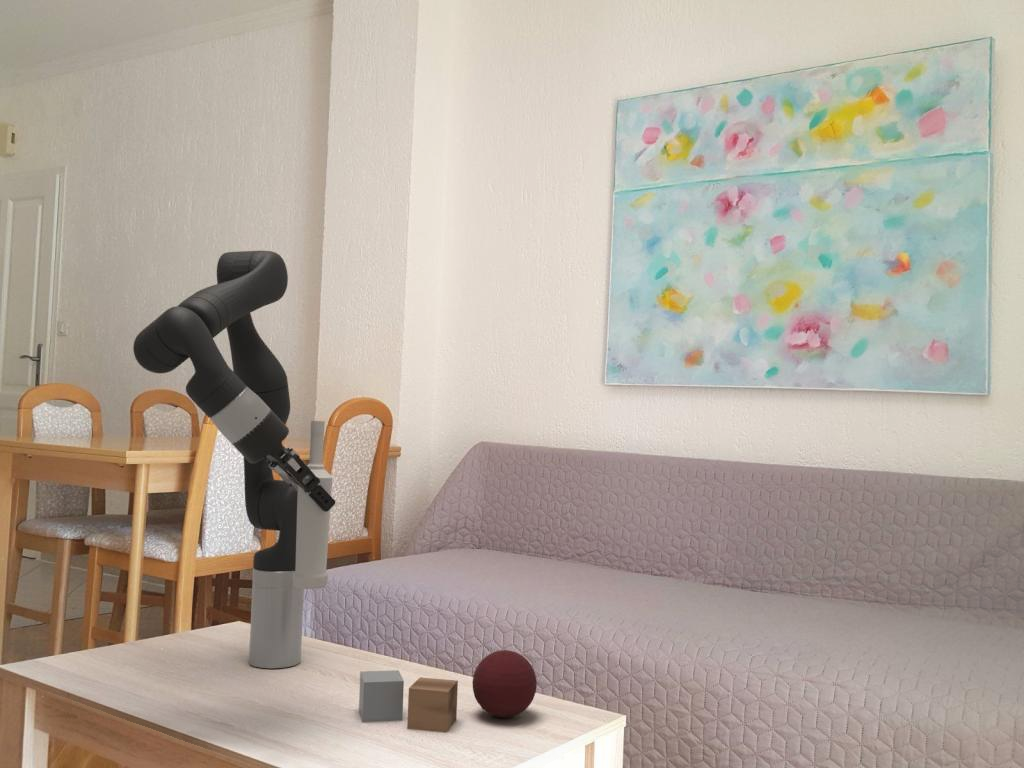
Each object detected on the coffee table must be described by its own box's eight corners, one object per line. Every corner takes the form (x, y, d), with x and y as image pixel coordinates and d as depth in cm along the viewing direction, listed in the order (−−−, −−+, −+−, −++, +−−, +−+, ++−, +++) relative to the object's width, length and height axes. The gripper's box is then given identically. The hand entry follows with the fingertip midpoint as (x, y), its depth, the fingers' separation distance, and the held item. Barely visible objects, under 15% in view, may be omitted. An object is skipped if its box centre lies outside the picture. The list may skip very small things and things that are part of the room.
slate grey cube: (358, 710, 145) (360, 671, 145) (397, 708, 146) (398, 670, 147) (362, 722, 139) (363, 682, 139) (402, 721, 141) (403, 681, 141)
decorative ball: (458, 717, 143) (460, 651, 143) (496, 702, 151) (498, 640, 152) (511, 731, 137) (513, 663, 138) (548, 715, 145) (550, 650, 146)
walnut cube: (418, 716, 143) (419, 677, 143) (456, 720, 142) (457, 680, 142) (407, 729, 137) (408, 688, 137) (446, 733, 136) (448, 691, 136)
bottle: (333, 585, 142) (341, 421, 143) (316, 590, 137) (324, 421, 138) (304, 581, 144) (312, 420, 145) (285, 587, 139) (293, 420, 140)
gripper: (278, 407, 132) (356, 492, 137) (259, 406, 145) (332, 484, 150) (238, 444, 129) (319, 529, 134) (222, 440, 142) (297, 517, 147)
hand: (325, 505), depth 142 cm, fingers closed on bottle, 5 cm apart
